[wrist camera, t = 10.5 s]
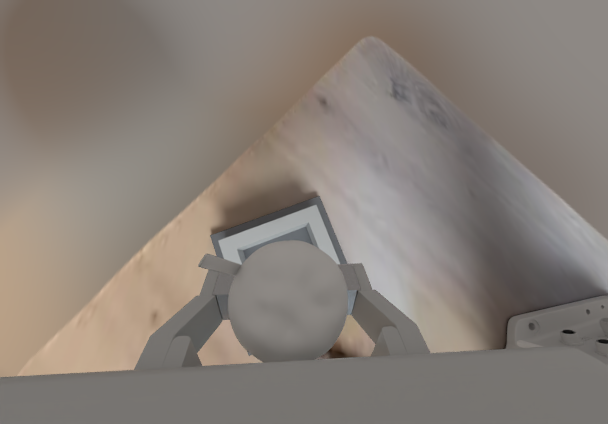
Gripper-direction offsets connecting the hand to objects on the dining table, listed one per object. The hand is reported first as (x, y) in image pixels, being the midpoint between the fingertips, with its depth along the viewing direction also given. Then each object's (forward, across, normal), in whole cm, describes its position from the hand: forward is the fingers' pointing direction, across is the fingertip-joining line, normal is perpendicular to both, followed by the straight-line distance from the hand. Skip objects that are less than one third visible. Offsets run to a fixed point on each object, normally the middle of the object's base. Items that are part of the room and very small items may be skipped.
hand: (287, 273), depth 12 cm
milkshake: (+4, 0, +4) cm, 6 cm away
